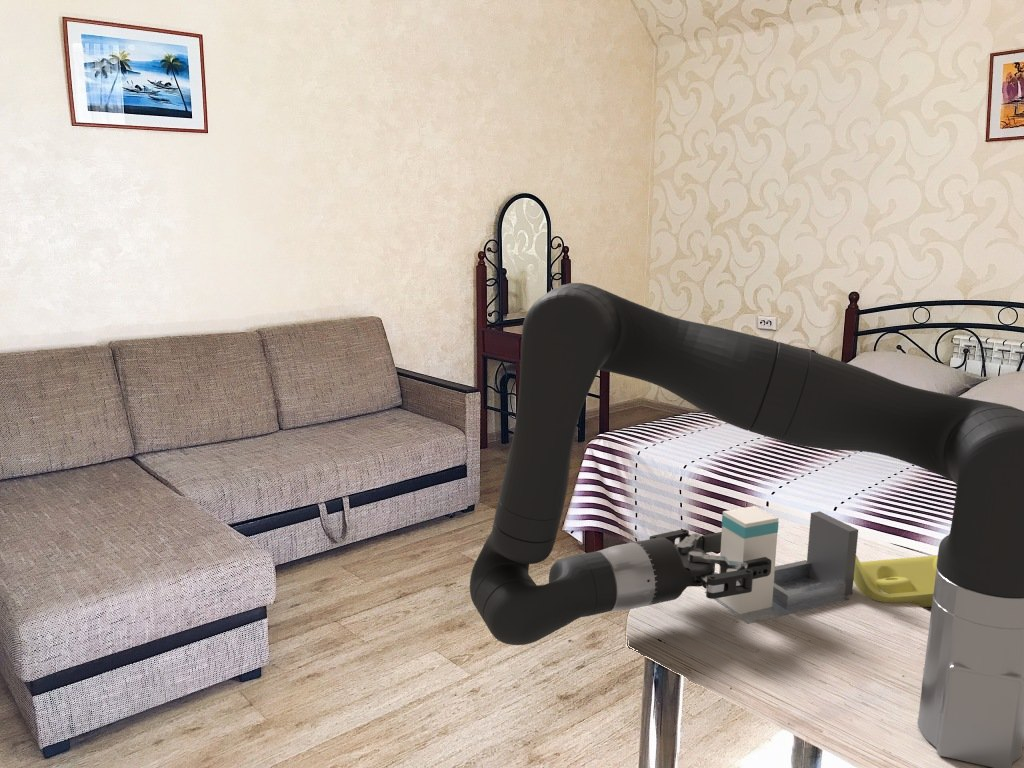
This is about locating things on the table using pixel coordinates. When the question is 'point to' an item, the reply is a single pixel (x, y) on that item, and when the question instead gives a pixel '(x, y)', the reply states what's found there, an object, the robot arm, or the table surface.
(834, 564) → the end stop
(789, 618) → the table surface
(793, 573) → the rail plate
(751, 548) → the block
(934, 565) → the plastic component
